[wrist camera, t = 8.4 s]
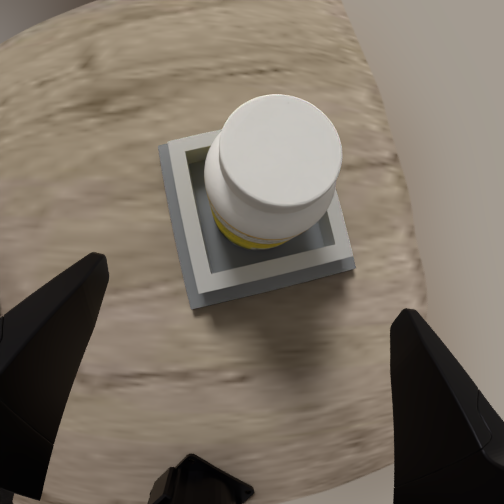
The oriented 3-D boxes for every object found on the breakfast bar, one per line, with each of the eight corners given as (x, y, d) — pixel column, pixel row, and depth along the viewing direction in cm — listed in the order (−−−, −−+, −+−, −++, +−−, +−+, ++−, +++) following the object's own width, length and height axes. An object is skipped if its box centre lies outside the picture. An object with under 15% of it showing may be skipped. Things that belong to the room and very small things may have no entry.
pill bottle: (253, 148, 23) (275, 54, 12) (317, 206, 23) (389, 150, 12) (192, 209, 22) (163, 148, 11) (258, 270, 22) (291, 265, 11)
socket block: (352, 268, 23) (369, 267, 20) (191, 308, 22) (186, 313, 19) (311, 120, 24) (321, 102, 21) (159, 148, 23) (151, 132, 20)
